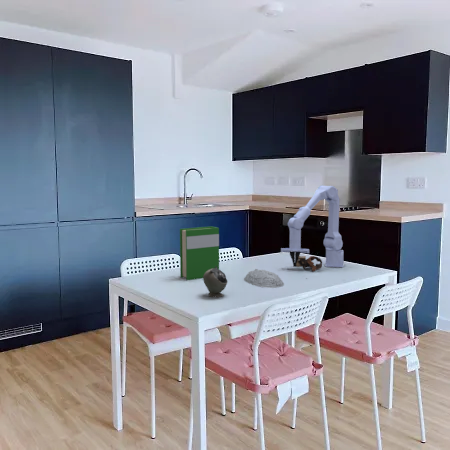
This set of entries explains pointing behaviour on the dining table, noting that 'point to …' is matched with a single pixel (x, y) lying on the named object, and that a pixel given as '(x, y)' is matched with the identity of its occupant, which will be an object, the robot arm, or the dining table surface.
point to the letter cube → (299, 259)
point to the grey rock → (263, 279)
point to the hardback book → (198, 251)
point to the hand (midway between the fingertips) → (294, 266)
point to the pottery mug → (311, 263)
